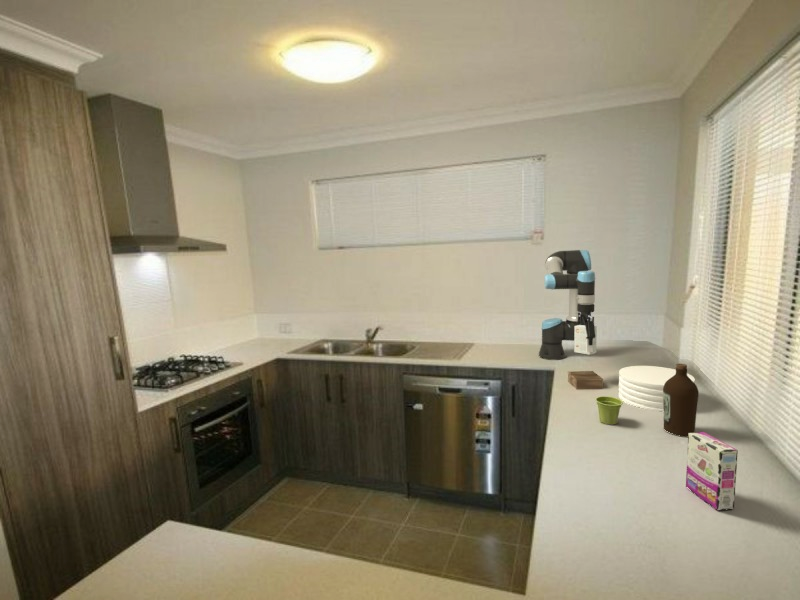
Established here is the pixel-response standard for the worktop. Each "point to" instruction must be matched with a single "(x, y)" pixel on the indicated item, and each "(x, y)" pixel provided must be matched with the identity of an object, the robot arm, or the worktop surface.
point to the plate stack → (644, 385)
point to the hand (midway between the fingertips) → (585, 349)
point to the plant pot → (608, 409)
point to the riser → (585, 380)
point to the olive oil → (680, 403)
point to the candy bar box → (711, 470)
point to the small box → (583, 340)
